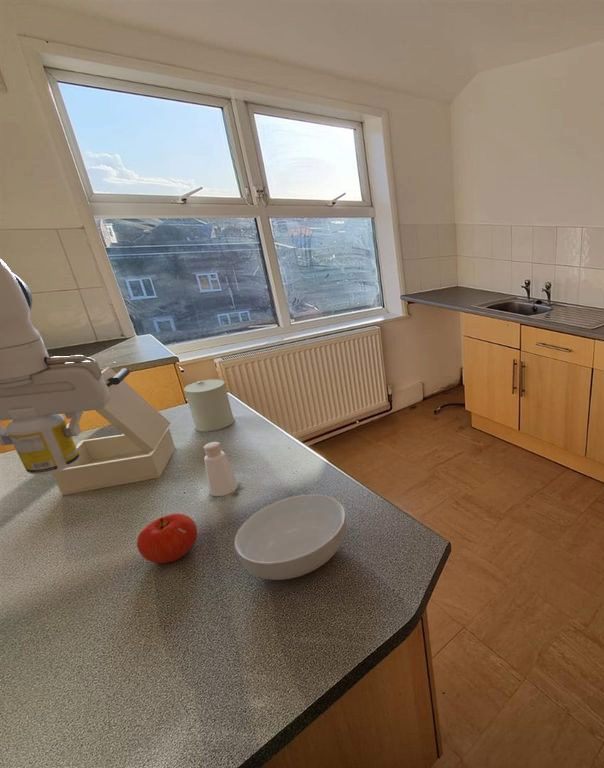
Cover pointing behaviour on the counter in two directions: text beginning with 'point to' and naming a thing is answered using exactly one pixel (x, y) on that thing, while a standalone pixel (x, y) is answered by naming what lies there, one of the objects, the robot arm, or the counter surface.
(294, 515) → the cereal bowl
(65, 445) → the pill bottle
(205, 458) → the salt shaker
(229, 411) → the can
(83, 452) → the cream open box
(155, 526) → the apple
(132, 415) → the box lid
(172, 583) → the counter surface
